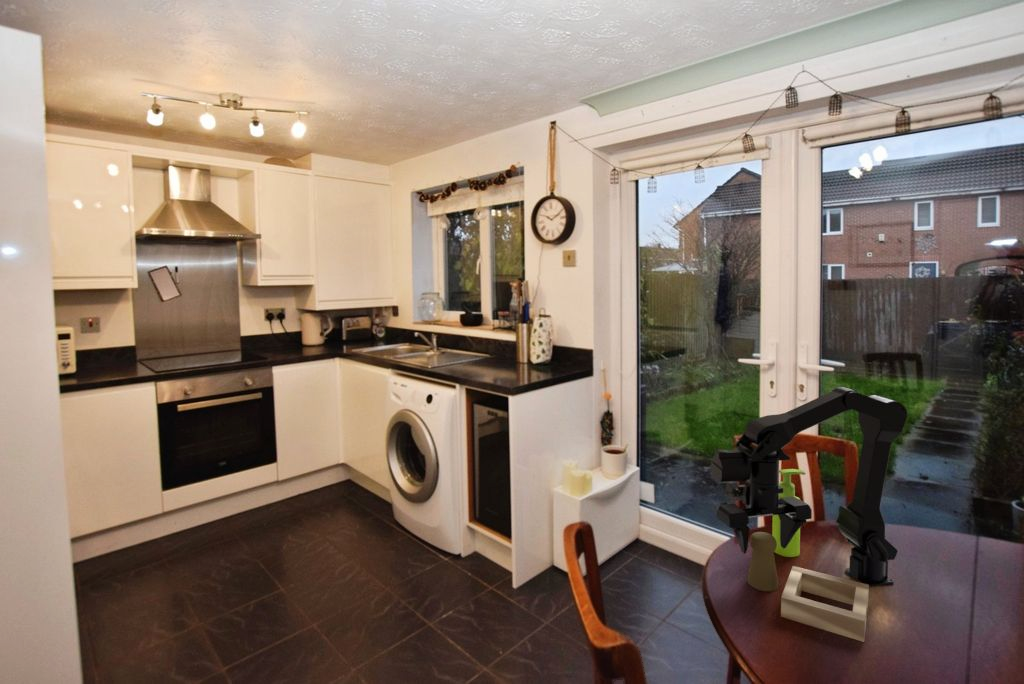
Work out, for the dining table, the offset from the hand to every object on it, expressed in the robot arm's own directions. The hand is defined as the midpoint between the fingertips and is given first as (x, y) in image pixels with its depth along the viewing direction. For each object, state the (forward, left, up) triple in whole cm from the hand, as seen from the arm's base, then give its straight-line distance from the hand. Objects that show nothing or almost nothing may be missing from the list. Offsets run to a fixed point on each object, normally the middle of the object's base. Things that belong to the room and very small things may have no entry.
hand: (763, 550), depth 113 cm
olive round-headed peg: (0, 0, -8) cm, 8 cm away
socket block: (-6, +11, -8) cm, 15 cm away
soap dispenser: (-14, -11, -8) cm, 19 cm away
